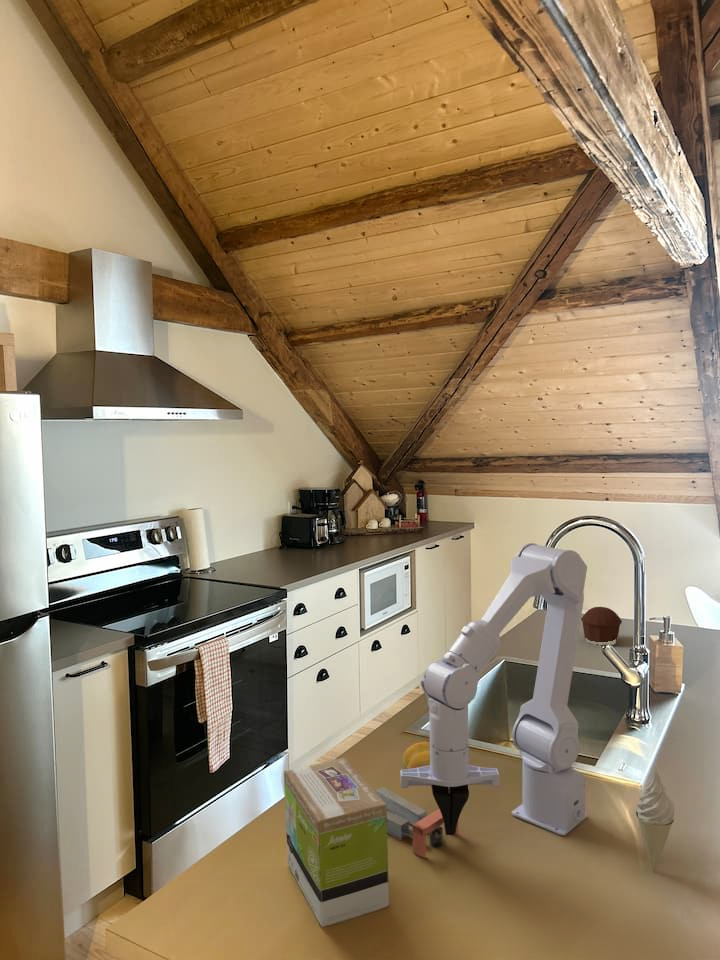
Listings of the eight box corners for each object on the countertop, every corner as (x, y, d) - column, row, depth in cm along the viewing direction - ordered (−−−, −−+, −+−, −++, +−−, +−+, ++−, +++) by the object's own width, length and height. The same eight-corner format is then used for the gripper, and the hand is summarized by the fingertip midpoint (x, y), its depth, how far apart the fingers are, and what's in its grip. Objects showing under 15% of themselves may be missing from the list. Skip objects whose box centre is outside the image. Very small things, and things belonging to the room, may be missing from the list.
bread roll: (414, 782, 130) (414, 760, 130) (398, 760, 139) (398, 740, 139) (457, 775, 133) (456, 754, 132) (438, 754, 141) (438, 734, 141)
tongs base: (445, 843, 110) (445, 828, 110) (429, 854, 108) (429, 839, 108) (369, 806, 122) (368, 792, 121) (352, 815, 119) (352, 801, 119)
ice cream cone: (670, 886, 99) (671, 780, 98) (631, 874, 102) (632, 771, 101) (676, 867, 104) (677, 765, 103) (638, 856, 106) (639, 757, 105)
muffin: (577, 636, 218) (577, 603, 217) (615, 636, 216) (616, 603, 216) (585, 647, 206) (586, 613, 205) (626, 648, 205) (626, 613, 204)
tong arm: (441, 833, 113) (441, 819, 113) (433, 837, 112) (433, 823, 112) (383, 799, 124) (383, 786, 123) (375, 802, 122) (375, 790, 122)
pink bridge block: (458, 833, 113) (458, 807, 113) (423, 857, 107) (423, 830, 106) (448, 828, 114) (447, 802, 114) (413, 852, 108) (412, 825, 108)
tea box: (284, 866, 106) (282, 768, 105) (348, 849, 110) (346, 754, 109) (320, 931, 92) (317, 818, 91) (391, 909, 96) (389, 801, 95)
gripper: (493, 731, 111) (493, 816, 112) (398, 732, 111) (400, 817, 112) (501, 751, 104) (502, 842, 105) (401, 753, 104) (402, 843, 105)
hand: (449, 831), depth 108 cm, fingers closed
